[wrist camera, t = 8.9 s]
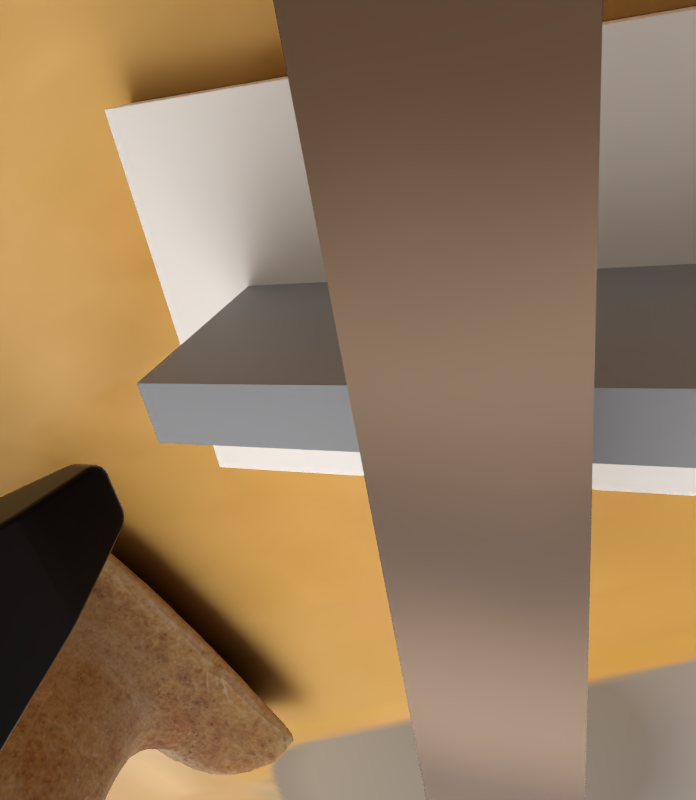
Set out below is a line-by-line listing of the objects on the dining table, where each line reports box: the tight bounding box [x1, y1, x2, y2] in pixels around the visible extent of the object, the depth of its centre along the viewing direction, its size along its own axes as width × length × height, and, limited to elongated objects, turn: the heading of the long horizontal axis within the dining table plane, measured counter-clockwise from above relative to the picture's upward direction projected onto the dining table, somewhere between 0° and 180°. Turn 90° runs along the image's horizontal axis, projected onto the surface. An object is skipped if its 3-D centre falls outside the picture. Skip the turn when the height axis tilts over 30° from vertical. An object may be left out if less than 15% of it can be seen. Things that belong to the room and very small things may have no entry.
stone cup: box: [0, 553, 293, 800], centre depth 27 cm, size 15×12×15 cm
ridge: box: [105, 6, 696, 496], centre depth 15 cm, size 22×12×7 cm, turn 100°
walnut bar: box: [273, 0, 603, 800], centre depth 11 cm, size 22×3×4 cm, turn 10°
